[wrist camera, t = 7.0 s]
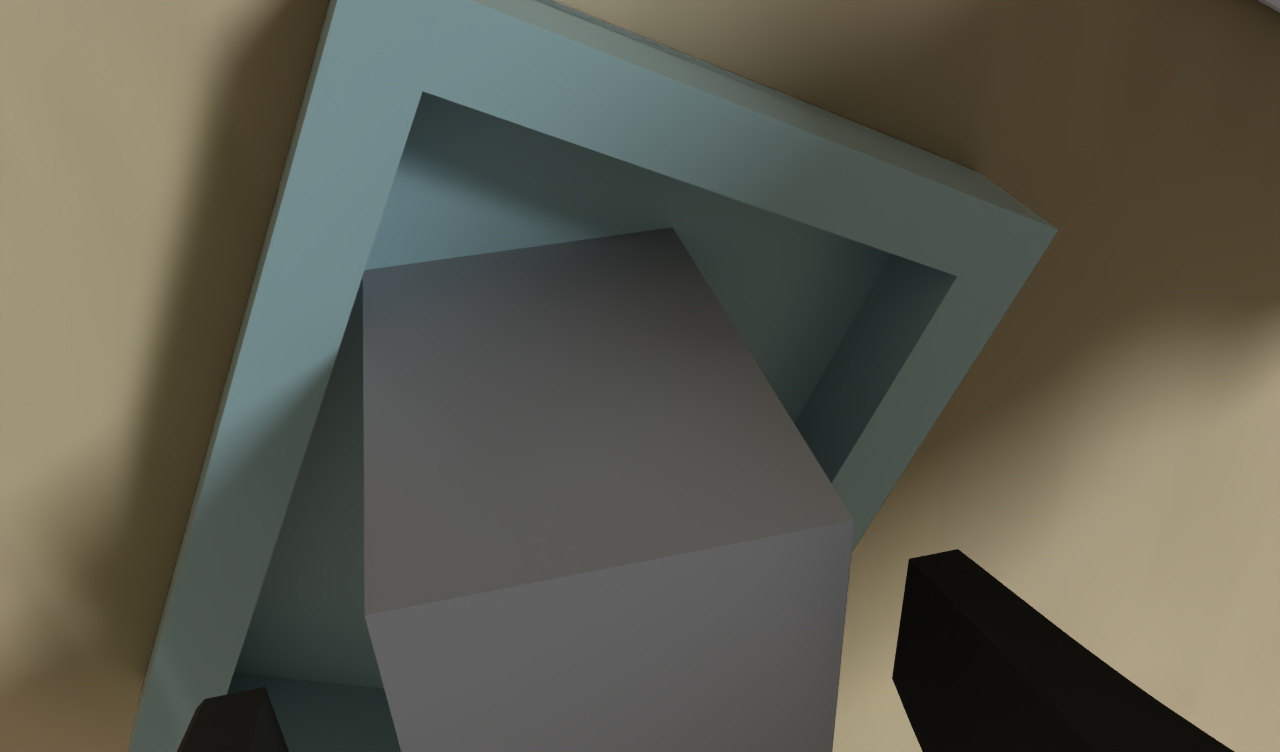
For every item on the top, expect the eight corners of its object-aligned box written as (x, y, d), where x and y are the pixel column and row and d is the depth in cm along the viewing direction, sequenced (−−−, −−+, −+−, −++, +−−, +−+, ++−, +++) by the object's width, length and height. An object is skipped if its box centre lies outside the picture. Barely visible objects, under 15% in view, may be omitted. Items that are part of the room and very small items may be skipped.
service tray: (980, 172, 15) (1058, 230, 13) (646, 738, 20) (672, 830, 18) (351, -81, 11) (351, -46, 9) (142, 688, 16) (116, 797, 14)
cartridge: (672, 226, 13) (853, 520, 8) (683, 610, 17) (811, 964, 12) (362, 270, 13) (364, 614, 8) (446, 658, 17) (482, 1051, 12)
